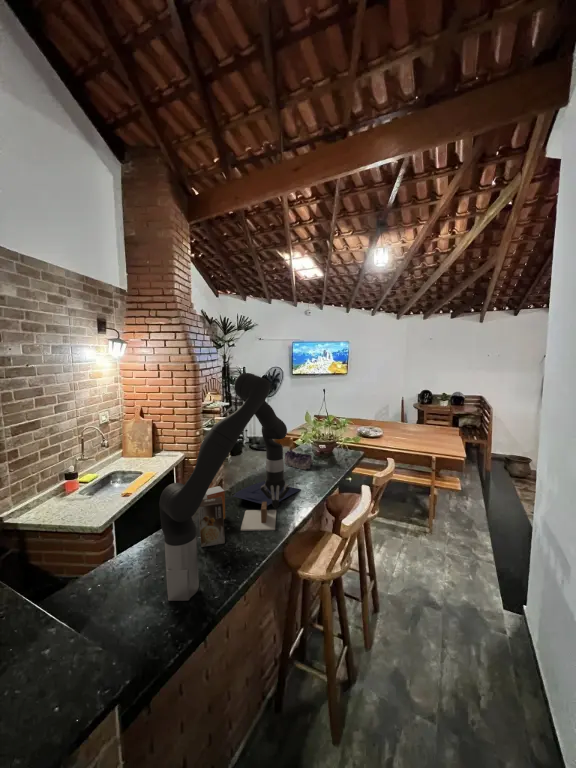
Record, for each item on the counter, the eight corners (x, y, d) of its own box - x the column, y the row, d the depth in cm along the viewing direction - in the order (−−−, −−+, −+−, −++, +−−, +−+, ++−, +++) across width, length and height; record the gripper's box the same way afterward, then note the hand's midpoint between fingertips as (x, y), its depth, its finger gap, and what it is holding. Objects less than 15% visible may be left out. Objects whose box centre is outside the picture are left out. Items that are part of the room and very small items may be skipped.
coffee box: (223, 534, 132) (222, 496, 130) (225, 543, 125) (223, 503, 124) (200, 538, 129) (198, 499, 127) (200, 547, 123) (198, 506, 121)
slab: (266, 501, 145) (265, 509, 138) (267, 514, 146) (266, 522, 139) (262, 501, 145) (260, 509, 138) (262, 514, 146) (261, 522, 139)
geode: (279, 466, 208) (279, 450, 208) (288, 463, 218) (289, 448, 218) (307, 471, 197) (307, 454, 197) (316, 467, 207) (316, 451, 207)
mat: (274, 530, 134) (274, 528, 134) (240, 530, 134) (240, 529, 134) (276, 511, 150) (276, 509, 150) (245, 511, 150) (245, 510, 150)
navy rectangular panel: (228, 500, 159) (228, 493, 159) (263, 485, 185) (263, 479, 185) (270, 512, 146) (271, 504, 146) (301, 494, 172) (302, 487, 172)
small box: (208, 524, 139) (206, 495, 138) (203, 518, 145) (201, 489, 143) (225, 518, 144) (224, 490, 142) (220, 513, 149) (219, 485, 148)
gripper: (290, 465, 143) (290, 503, 145) (260, 465, 143) (261, 503, 145) (290, 471, 136) (291, 511, 138) (258, 471, 136) (259, 511, 138)
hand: (275, 507), depth 141 cm, fingers closed
